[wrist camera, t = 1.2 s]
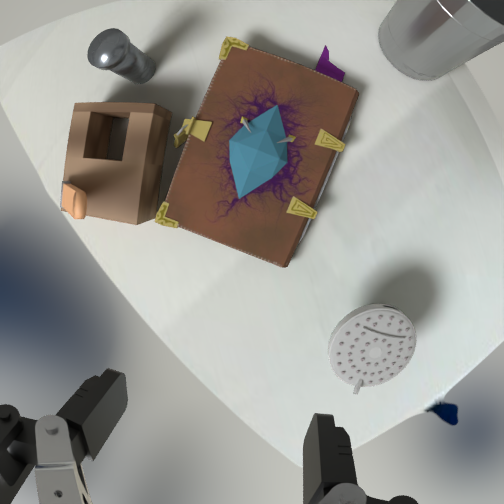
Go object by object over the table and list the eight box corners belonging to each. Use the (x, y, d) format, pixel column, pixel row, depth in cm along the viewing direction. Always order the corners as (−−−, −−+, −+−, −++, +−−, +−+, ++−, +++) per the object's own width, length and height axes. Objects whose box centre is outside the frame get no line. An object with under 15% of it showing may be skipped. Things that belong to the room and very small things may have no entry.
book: (367, 67, 30) (381, 54, 25) (286, 264, 36) (290, 279, 31) (232, 17, 29) (228, -3, 24) (152, 211, 35) (136, 218, 30)
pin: (130, 55, 30) (94, 30, 22) (161, 54, 30) (129, 26, 22) (122, 86, 31) (83, 68, 23) (153, 87, 31) (118, 65, 23)
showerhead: (313, 388, 30) (352, 301, 27) (309, 352, 37) (339, 276, 34) (391, 402, 29) (434, 324, 27) (377, 367, 36) (410, 297, 34)
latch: (69, 180, 29) (61, 180, 29) (89, 191, 24) (78, 191, 23) (67, 206, 30) (59, 206, 29) (86, 223, 24) (76, 224, 24)
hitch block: (98, 109, 32) (74, 102, 27) (172, 112, 32) (155, 103, 27) (84, 205, 35) (60, 210, 30) (155, 218, 35) (136, 225, 30)
